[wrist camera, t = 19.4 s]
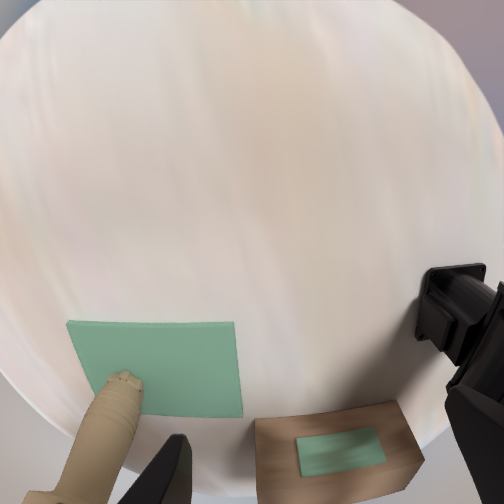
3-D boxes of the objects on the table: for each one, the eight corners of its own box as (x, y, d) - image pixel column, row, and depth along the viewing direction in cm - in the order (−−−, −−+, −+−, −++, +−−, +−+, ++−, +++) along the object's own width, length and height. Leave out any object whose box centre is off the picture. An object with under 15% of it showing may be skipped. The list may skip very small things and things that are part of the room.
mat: (233, 321, 22) (233, 326, 21) (243, 412, 25) (243, 417, 24) (68, 320, 22) (65, 324, 21) (103, 404, 25) (101, 408, 24)
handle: (164, 407, 24) (127, 555, 10) (99, 391, 24) (39, 521, 9) (163, 369, 22) (112, 540, 8) (92, 352, 22) (10, 494, 8)
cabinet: (397, 397, 25) (426, 457, 17) (380, 442, 28) (399, 495, 20) (254, 416, 25) (256, 488, 18) (257, 458, 28) (259, 519, 20)
